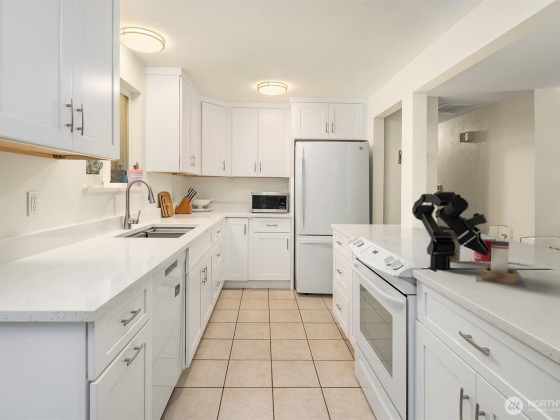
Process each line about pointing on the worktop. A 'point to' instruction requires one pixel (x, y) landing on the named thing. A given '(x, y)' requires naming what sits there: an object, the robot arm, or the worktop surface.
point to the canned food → (487, 252)
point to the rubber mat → (519, 283)
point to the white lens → (499, 256)
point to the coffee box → (456, 256)
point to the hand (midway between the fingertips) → (487, 252)
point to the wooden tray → (499, 276)
